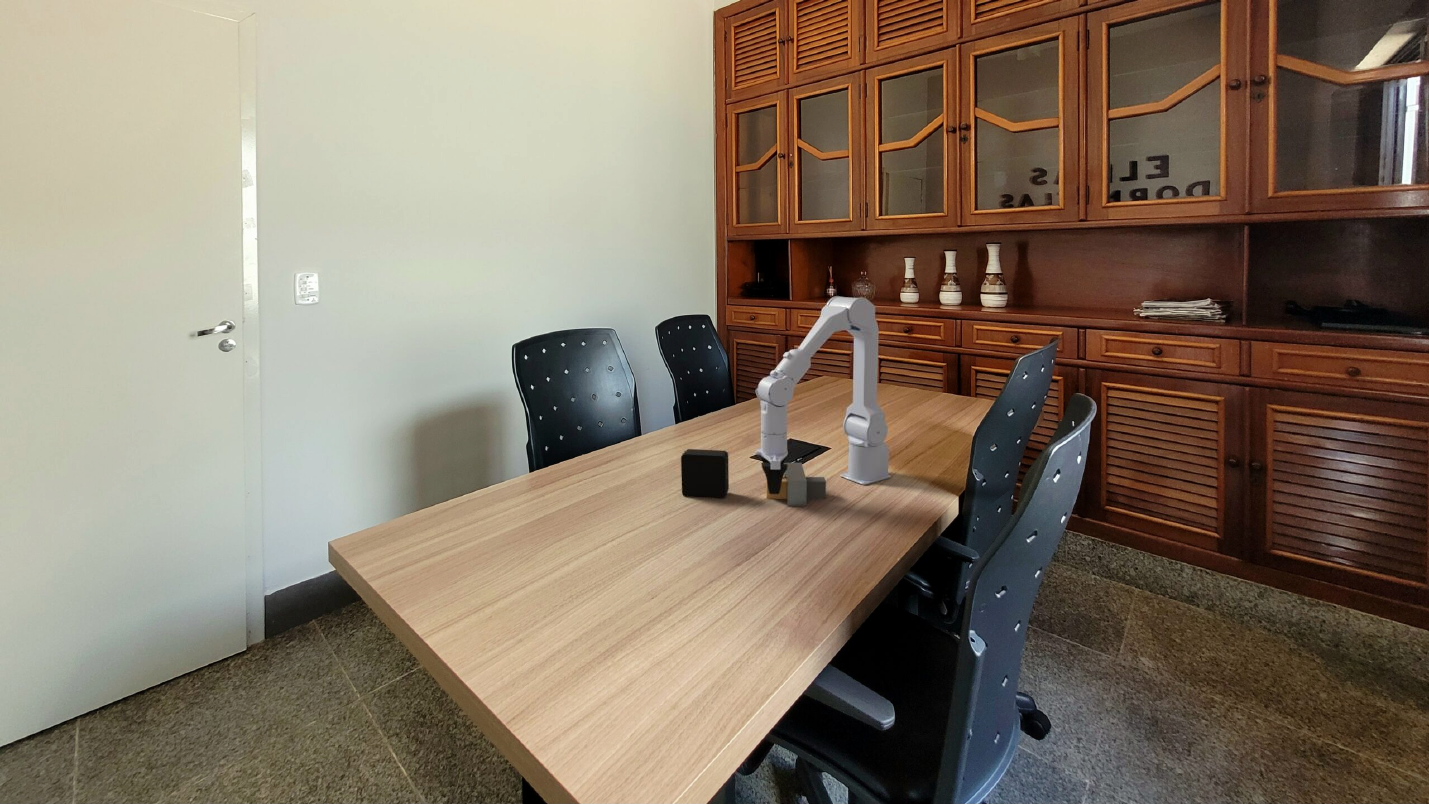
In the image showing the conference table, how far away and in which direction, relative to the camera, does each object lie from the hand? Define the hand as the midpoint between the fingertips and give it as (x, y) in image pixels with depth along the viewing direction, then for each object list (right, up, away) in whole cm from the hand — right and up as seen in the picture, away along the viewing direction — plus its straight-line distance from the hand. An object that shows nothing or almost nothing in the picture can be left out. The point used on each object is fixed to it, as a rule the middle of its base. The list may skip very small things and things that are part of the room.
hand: (773, 489), depth 137 cm
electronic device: (-15, -2, +2) cm, 16 cm away
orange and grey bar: (+5, -1, 0) cm, 5 cm away
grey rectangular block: (+5, -1, 0) cm, 5 cm away
